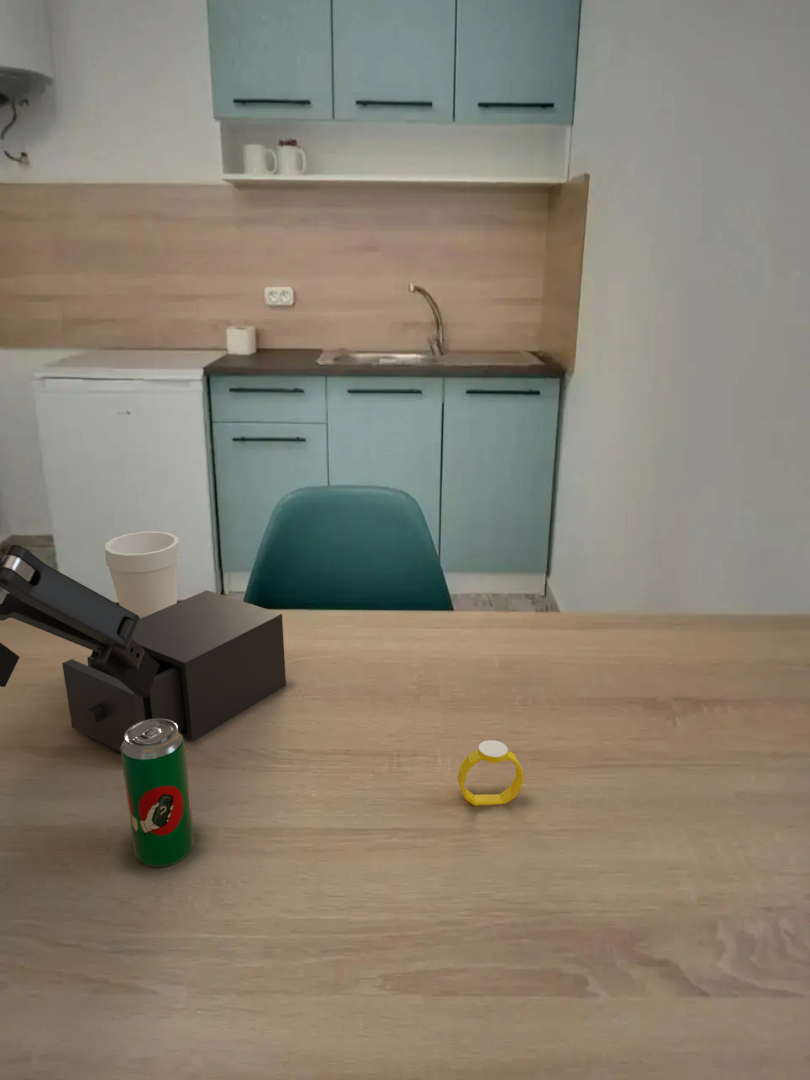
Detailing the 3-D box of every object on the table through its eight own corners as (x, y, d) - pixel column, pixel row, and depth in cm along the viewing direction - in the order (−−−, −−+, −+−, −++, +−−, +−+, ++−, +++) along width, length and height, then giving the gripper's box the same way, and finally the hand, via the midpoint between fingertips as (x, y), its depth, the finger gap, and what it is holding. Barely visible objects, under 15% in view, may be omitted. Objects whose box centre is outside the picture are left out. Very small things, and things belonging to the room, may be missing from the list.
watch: (461, 814, 77) (462, 759, 75) (455, 795, 80) (456, 742, 78) (523, 808, 78) (527, 754, 76) (516, 790, 80) (519, 737, 78)
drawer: (130, 768, 82) (121, 699, 80) (61, 732, 88) (51, 667, 86) (238, 705, 94) (233, 642, 91) (170, 677, 100) (164, 618, 97)
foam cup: (169, 650, 108) (159, 557, 104) (103, 645, 110) (90, 553, 105) (197, 619, 117) (189, 533, 113) (136, 615, 118) (126, 529, 114)
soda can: (207, 843, 73) (195, 725, 69) (164, 879, 69) (149, 756, 65) (165, 824, 76) (152, 709, 72) (122, 857, 72) (105, 737, 68)
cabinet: (192, 743, 88) (184, 663, 85) (117, 708, 95) (107, 632, 92) (286, 687, 99) (282, 613, 96) (213, 658, 106) (207, 589, 103)
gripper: (-311, 566, 51) (-67, 709, 67) (7, 570, 43) (197, 732, 59) (-237, 472, 55) (-24, 629, 72) (67, 459, 47) (229, 639, 63)
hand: (77, 676), depth 65 cm, fingers open, 13 cm apart
